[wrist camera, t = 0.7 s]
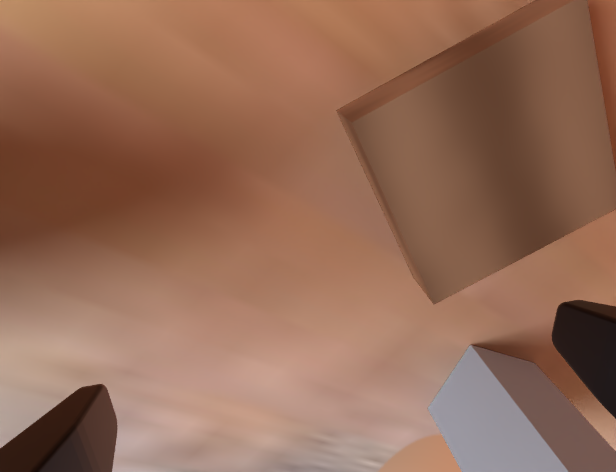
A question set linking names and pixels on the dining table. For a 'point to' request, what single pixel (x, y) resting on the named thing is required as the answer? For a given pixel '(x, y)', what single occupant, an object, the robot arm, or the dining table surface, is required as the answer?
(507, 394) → the tin
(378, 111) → the brown square tray
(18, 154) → the dining table surface
